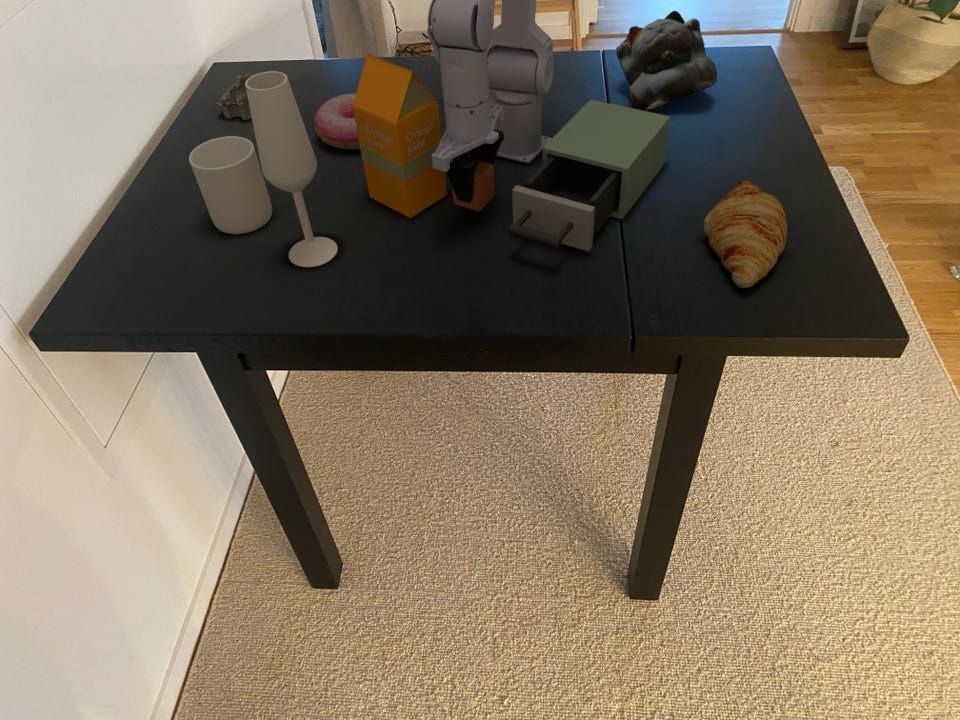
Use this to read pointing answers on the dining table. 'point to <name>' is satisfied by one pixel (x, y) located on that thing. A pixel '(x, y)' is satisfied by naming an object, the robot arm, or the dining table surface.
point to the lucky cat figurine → (665, 61)
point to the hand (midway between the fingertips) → (473, 191)
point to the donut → (338, 123)
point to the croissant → (747, 232)
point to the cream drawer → (565, 203)
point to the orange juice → (398, 137)
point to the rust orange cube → (480, 187)
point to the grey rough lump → (236, 99)
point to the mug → (232, 184)
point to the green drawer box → (615, 145)
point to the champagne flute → (286, 156)
